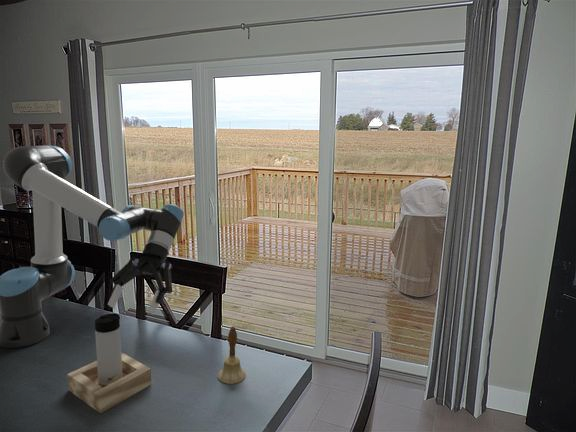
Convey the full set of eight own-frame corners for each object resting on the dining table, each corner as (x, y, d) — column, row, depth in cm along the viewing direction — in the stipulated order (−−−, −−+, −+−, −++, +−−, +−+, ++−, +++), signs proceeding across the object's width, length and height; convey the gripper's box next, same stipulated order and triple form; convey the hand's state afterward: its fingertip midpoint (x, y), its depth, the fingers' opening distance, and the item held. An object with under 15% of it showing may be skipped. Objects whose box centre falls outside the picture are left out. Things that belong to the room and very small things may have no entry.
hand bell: (250, 371, 124) (251, 323, 121) (238, 387, 116) (238, 336, 113) (225, 365, 127) (226, 318, 123) (212, 380, 119) (212, 330, 116)
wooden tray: (68, 390, 112) (67, 374, 111) (119, 365, 124) (118, 350, 123) (100, 413, 103) (99, 396, 102) (151, 384, 116) (150, 368, 115)
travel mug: (114, 390, 110) (111, 322, 106) (93, 386, 111) (89, 319, 107) (128, 377, 116) (125, 312, 112) (107, 374, 117) (104, 309, 113)
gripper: (196, 257, 131) (173, 320, 120) (129, 249, 137) (101, 308, 126) (188, 246, 125) (162, 311, 113) (118, 237, 131) (87, 298, 119)
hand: (130, 309), depth 119 cm, fingers open, 13 cm apart
